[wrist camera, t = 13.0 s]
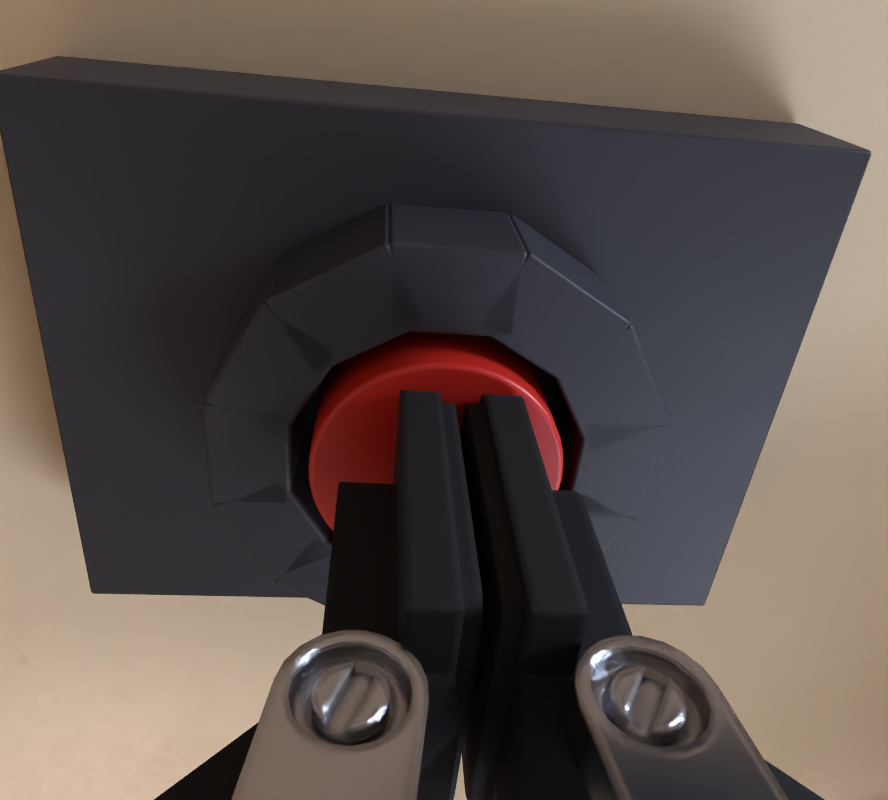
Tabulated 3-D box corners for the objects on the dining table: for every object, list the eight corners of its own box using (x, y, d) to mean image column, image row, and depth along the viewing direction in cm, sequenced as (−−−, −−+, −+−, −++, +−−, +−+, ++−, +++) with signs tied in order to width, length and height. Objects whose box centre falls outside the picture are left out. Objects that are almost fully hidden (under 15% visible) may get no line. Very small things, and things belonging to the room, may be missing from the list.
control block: (126, 518, 16) (52, 673, 12) (55, 55, 11) (-95, 92, 8) (669, 535, 17) (741, 680, 13) (800, 123, 12) (958, 181, 9)
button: (317, 499, 13) (307, 570, 11) (318, 302, 11) (307, 356, 9) (524, 505, 13) (542, 576, 11) (559, 317, 11) (587, 371, 10)
